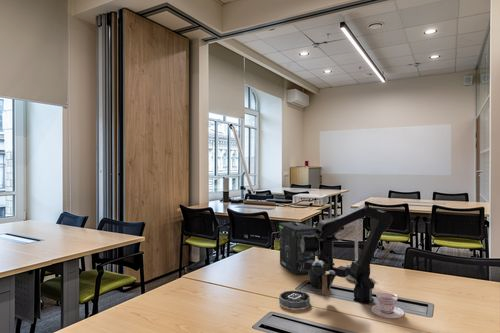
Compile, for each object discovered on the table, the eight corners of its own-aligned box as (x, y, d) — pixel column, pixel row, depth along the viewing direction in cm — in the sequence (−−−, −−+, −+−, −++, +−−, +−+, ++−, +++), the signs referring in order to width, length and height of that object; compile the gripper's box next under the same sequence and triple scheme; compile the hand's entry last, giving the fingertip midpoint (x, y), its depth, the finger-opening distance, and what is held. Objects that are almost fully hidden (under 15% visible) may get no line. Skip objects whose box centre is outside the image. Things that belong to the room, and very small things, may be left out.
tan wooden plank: (330, 293, 141) (330, 274, 141) (326, 295, 139) (326, 275, 139) (325, 292, 142) (325, 273, 142) (322, 294, 140) (322, 274, 140)
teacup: (377, 303, 140) (377, 288, 140) (408, 311, 133) (408, 295, 133) (366, 313, 131) (366, 297, 131) (398, 322, 123) (398, 305, 123)
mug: (310, 292, 152) (310, 271, 152) (307, 283, 164) (307, 263, 164) (329, 292, 152) (329, 271, 152) (324, 283, 164) (324, 263, 163)
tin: (315, 302, 141) (315, 295, 141) (299, 312, 131) (299, 304, 131) (290, 295, 149) (289, 288, 149) (273, 304, 139) (273, 297, 139)
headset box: (279, 263, 196) (278, 219, 196) (297, 261, 200) (297, 217, 199) (295, 275, 174) (295, 225, 174) (316, 273, 178) (316, 224, 178)
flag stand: (374, 282, 164) (373, 220, 164) (347, 282, 164) (346, 220, 164) (365, 273, 177) (365, 216, 177) (340, 273, 177) (340, 216, 177)
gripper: (296, 251, 140) (296, 289, 140) (338, 259, 128) (338, 300, 129) (309, 246, 149) (310, 281, 149) (350, 253, 137) (350, 291, 137)
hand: (326, 288), depth 141 cm, fingers closed on tan wooden plank, 2 cm apart
